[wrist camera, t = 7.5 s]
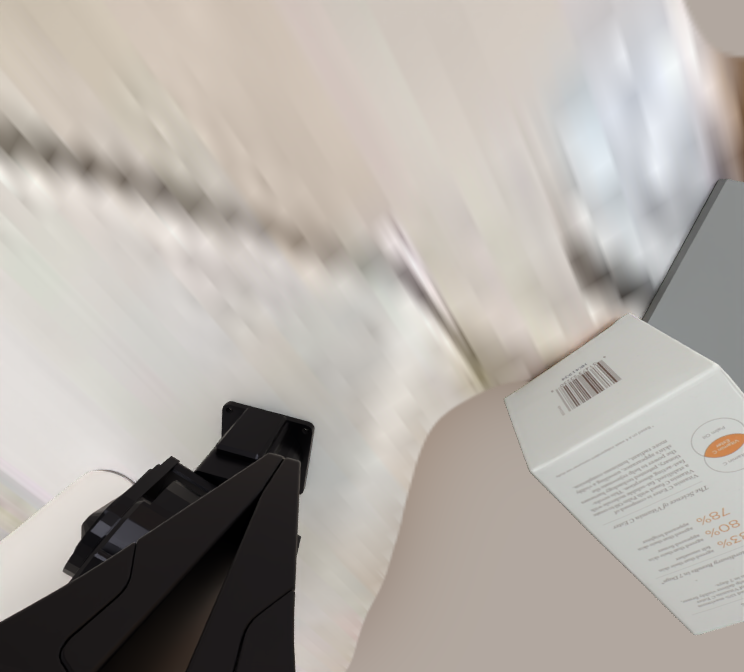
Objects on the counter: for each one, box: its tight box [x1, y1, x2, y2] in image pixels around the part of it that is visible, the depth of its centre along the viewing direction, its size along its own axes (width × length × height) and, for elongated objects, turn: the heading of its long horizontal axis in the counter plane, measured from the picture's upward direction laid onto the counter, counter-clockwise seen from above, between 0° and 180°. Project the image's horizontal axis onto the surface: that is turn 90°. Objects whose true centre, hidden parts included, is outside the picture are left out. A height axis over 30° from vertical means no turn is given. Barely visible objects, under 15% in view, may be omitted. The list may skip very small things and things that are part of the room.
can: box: [0, 470, 135, 622], centre depth 25 cm, size 6×6×12 cm
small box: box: [504, 313, 744, 635], centre depth 18 cm, size 8×6×13 cm
